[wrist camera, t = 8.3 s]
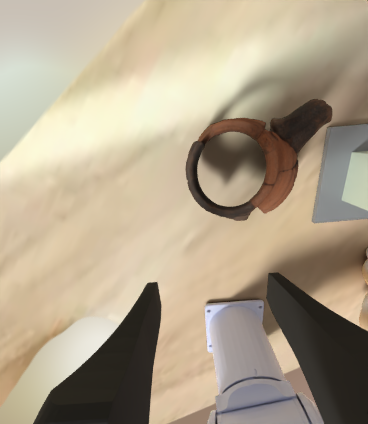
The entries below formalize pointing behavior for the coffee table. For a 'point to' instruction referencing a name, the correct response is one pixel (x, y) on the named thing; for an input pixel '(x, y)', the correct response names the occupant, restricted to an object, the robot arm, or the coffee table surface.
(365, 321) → the kitten
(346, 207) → the plate
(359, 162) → the brick
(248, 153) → the coffee table surface
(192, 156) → the brown ring with handle
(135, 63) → the coffee table surface
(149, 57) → the coffee table surface
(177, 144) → the coffee table surface
